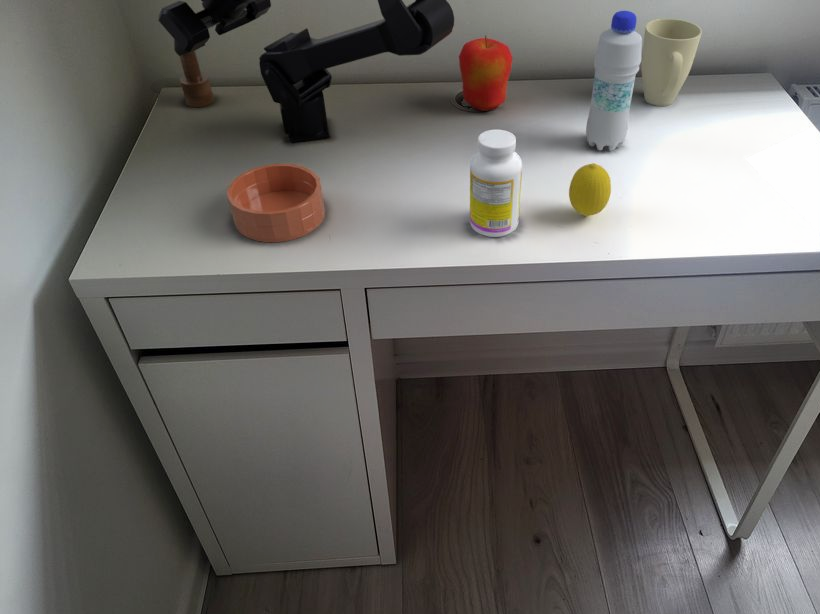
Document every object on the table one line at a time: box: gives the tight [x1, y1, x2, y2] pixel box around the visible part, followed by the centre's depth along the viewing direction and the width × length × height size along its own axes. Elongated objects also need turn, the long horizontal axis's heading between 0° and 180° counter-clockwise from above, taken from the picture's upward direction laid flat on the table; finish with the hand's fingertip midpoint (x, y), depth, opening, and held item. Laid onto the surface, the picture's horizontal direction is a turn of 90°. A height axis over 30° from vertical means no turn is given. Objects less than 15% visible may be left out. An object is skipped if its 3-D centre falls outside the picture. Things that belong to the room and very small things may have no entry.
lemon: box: [568, 163, 612, 217], centre depth 95 cm, size 6×6×8 cm
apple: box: [458, 34, 513, 111], centre depth 117 cm, size 9×8×12 cm
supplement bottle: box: [469, 129, 523, 238], centre depth 92 cm, size 7×7×13 cm
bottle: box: [585, 10, 643, 152], centre depth 105 cm, size 7×7×20 cm
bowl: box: [226, 163, 326, 243], centre depth 96 cm, size 12×12×4 cm
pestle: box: [179, 50, 215, 108], centre depth 117 cm, size 5×5×13 cm
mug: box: [640, 18, 703, 107], centre depth 118 cm, size 11×10×12 cm
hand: (198, 42), depth 113 cm, fingers open, 9 cm apart
